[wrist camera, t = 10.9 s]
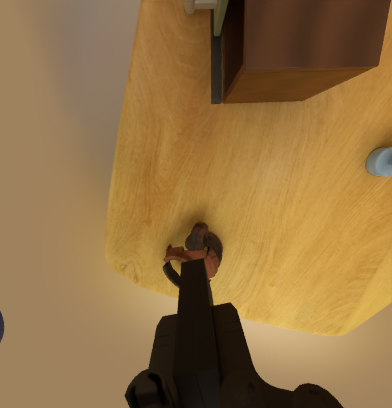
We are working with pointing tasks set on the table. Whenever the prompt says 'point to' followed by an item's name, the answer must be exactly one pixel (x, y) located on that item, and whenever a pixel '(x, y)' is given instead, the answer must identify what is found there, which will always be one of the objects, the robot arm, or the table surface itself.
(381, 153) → the spotlight
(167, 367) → the robot arm
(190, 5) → the sliding door
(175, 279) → the broken clay pot
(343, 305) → the table surface
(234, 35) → the cupboard
